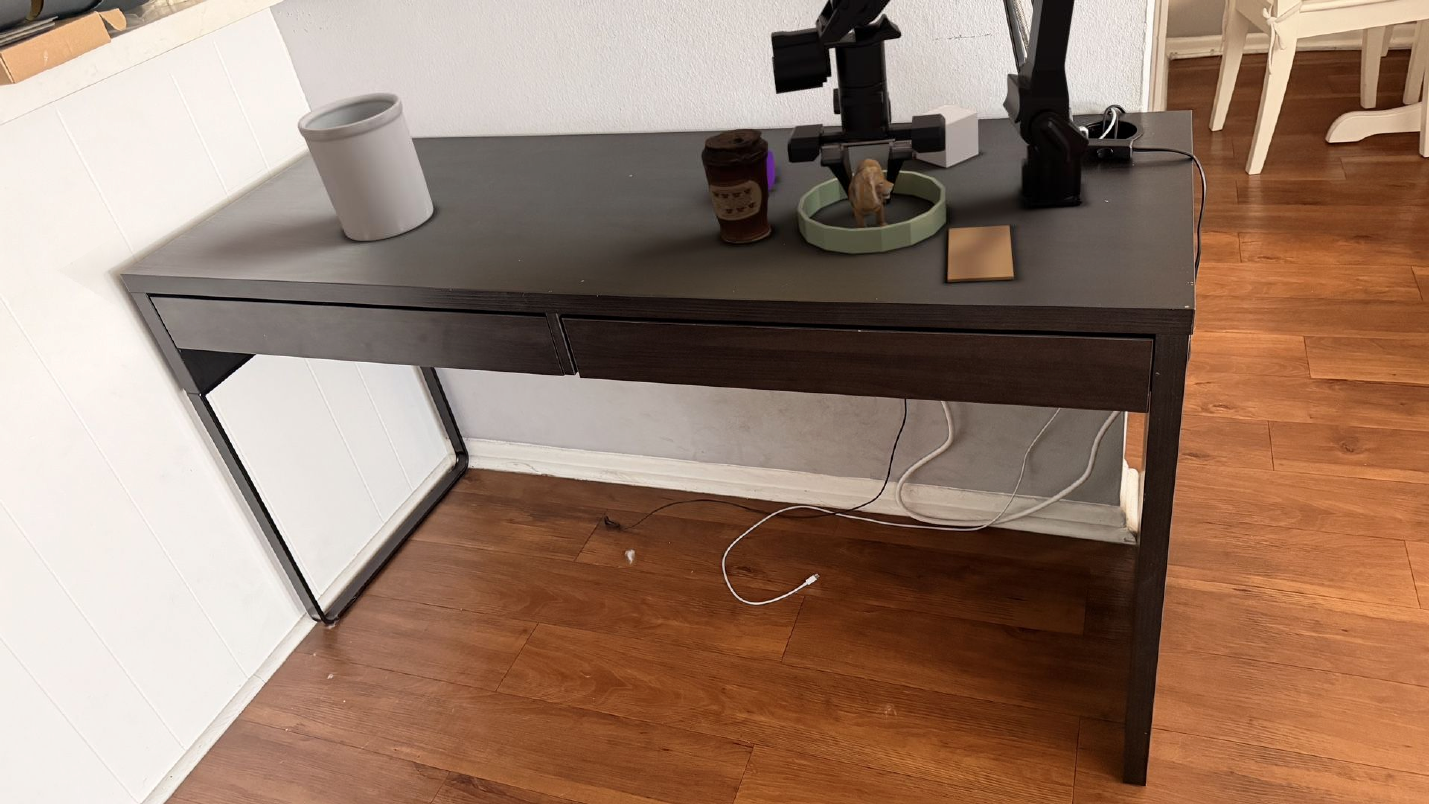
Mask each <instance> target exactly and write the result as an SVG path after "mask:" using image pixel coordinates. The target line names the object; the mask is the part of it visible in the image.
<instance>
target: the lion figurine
mask: <svg viewBox="0 0 1429 804" xmlns="http://www.w3.org/2000/svg"><path fill="white" fill-rule="evenodd" d="M882 170H883V169H882V167H881V165H880V163H879V162H878V161H877V160H875V159H871V158H866V159H864V160H863V161H861V162H859V163H858V164H857V166H856V172H855V174H854V173H853V174H854V176H853V177H852V181H851V183H850V186H849V189H848V192H849V198H848V201H849V202H850V206H851V208H852V209H853V214H854V217H855V220H856V223H857V225H858V228H868V226H867V224H866V221H865V218H864V216H865V215H874V214H875V225H876V227H883V226H887V225H889V224H888V223H887V222H885V218H884V204H883V203H884V202H885V203H886V199H888V198H889V197H890V191H891V190H892V188H893V186H894V184H893V183H890V182H888V181H886V180H885V179H884V176H883V172H882Z"/></svg>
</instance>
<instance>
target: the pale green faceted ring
mask: <svg viewBox="0 0 1429 804" xmlns="http://www.w3.org/2000/svg"><path fill="white" fill-rule="evenodd" d="M881 170H882V172H883V176H884V179H885V180H886V178H887V169H881ZM855 173H856V172H855ZM855 173H854V172H853V173H852V175H853V176H854V174H855ZM946 188H947V187H945V186H944V185H943V184H942V183H941V182H940V181H938V180H937V178H935V177H932V176H930V175H926V174H924V173H919V172H916V171H910V170H909V171H908V170H900V172H899V174H898V176H897V179H896V182H895V186H894V189H893V193H892V194H902V195H910V196H916V197H919V198H921V199H925V200H927V201H930V202H932V203H933V204H934V205H933V206H932V207H931V208H930V209H929V210H928V211H926V212H924V213H922V214H919V215H918V216H915V217H913V218H911V219H909V220H905V221H900V222H897V223H893V224H888V225H887V226H883V227H878V226H875V227H867V228H859V227H857V228H847V227H840V226H831V225H826V224H823V223H821V222H819V221H816V220H814V219H811V217H812V216H813V215H814V214H815V213H817V212H818V211H819V210H820V209H822V208H825V207H827V206H829V205H831V204H834V203H836V202H838V201H841V200H845V199H849V198H848V197H847V195H846V193H845V191H844V189H843V187H842V186H841V184H840V182H839V181H838V179H837V178H836V177H834V178H831V179H830V180H827V181H824V182H822V183H819V184H817V185H815V186H814V187H812V188H811V189H810V190H809V191H808V192H806V193H805V194H803V195H802V196H801V197H800V200H799V203H798V206H797V209H796V211H797V218H798V228H799V232H800V233H801V234H802V236H803V237H804V239H805V241H806V242H807V243H809V244H812V245H814V246H815V247H818V248H820V249H823V250H824V251H832V252H839V253H847V254H868V253H869V254H870V253H883V252H887V251H892V250H893V251H894V250H897V249H902V248H905V247H910V246H913V245H915V244H917V243H919V242H921V241H923V240H926V239H928V238H930V237H932V236H934V235H935V234H936V233H937V232H938V231H939V230H940V229H941V228H942V227H943V226H944V225H945V224H946V223H947V191H946V190H947V189H946Z"/></svg>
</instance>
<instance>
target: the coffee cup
mask: <svg viewBox="0 0 1429 804" xmlns="http://www.w3.org/2000/svg"><path fill="white" fill-rule="evenodd" d="M762 134H763V132H762V131H761V130H757V129H754V128H736V129H732V130H728V131H722V132H720V133H719V134H717V135H712V136H710V137H708V138H706V139H705V140H704V148H703V149H702V151H701V154H700V159H701V162H702V166H703V168H704V172H705V178H706V181H707V185H708V186H707V187H708V191H709V194H710V198H711V202H712V207H713V211H714V213H715V217H716V220H717V223H718V226H719V229H720V230H719V231H720V236H721V238H722V239H723V240H724V241H725V242H728V243H734V244H744V243H750V242H754V241H758V240H761V239H763V238H765V237H768V236H770V235H771V232H772V228H771V225H770V223H769V219H768V217H769V216H768V211H769V197H770V192H769V191H770V190H769V183H768V176H767V157H768V150H769V142H768V141H767V140H766V139H764V138H762Z"/></svg>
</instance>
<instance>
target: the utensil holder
mask: <svg viewBox="0 0 1429 804" xmlns="http://www.w3.org/2000/svg"><path fill="white" fill-rule="evenodd" d="M403 110H404V109H403V102H402V100H401V98H400V96H399V95H397V94H395V93H391V92H373V93H367V94H366V93H365V94H359V95H355V96H350V97H346V98H342V99H339V100H335V101H333V102H330V103H327V104H324V105H322V106H319V107H317V108H315V109H313V110H311V111H309V112H307V113H306V114H304V115H303V116H301V118H300V119H299V120H298V122H297V128H298V129H297V130H298V132H299V133H300V135H301V136H302V137H303V139H304V141H305V143H306V146H307V148H308V151H309V153H310V156H311V157H312V158H311V159H312V161H313V162H314V165H315V167H316V169H317V171H318V174H319V177H320V179H321V181H322V183H323V186H324V188H325V191H326V193H327V195H328V198H329V201H330V203H331V205H332V207H333V209H334V211H335V213H336V216H337V218H338V221H339V223H340V225H341V227H342V231H343V232H344V234H345V235H346V237H347V238H349V239H351V240H353V241H357V242H359V241H360V242H371V241H380V240H386V239H389V238H393V237H396V236H399V235H401V234H404V233H406V232H409V231H411V230H414V229H415V228H417V227H419V226H422V224H424V223H426V222H427V220H429V219H430V218H431V217H432V215H433V213H434V206H433V201H432V199H431V196H430V191H429V189H428V186H427V182H426V179H425V175H424V172H423V170H422V169H423V168H422V166H421V164H420V160H419V157H418V154H417V151H416V147H415V145H414V141H413V139H412V136H411V133H410V129H409V127H408V124H407V121H406V118H405V115H404V112H403Z"/></svg>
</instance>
